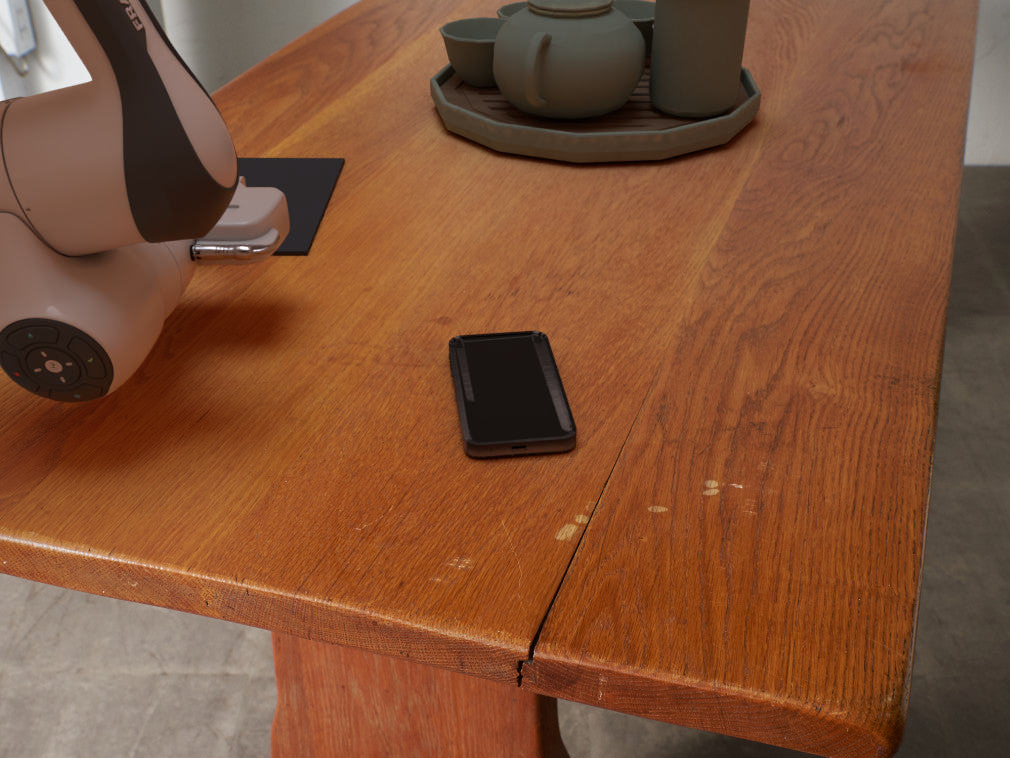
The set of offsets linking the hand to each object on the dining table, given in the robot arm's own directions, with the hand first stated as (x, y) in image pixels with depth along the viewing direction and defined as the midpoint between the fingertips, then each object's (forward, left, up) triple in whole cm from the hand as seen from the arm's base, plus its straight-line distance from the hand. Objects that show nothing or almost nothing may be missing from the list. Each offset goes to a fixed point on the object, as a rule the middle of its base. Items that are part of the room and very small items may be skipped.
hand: (181, 184), depth 85 cm
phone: (+28, -20, -8) cm, 35 cm away
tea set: (+37, +46, -8) cm, 59 cm away
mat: (0, +16, -8) cm, 18 cm away
